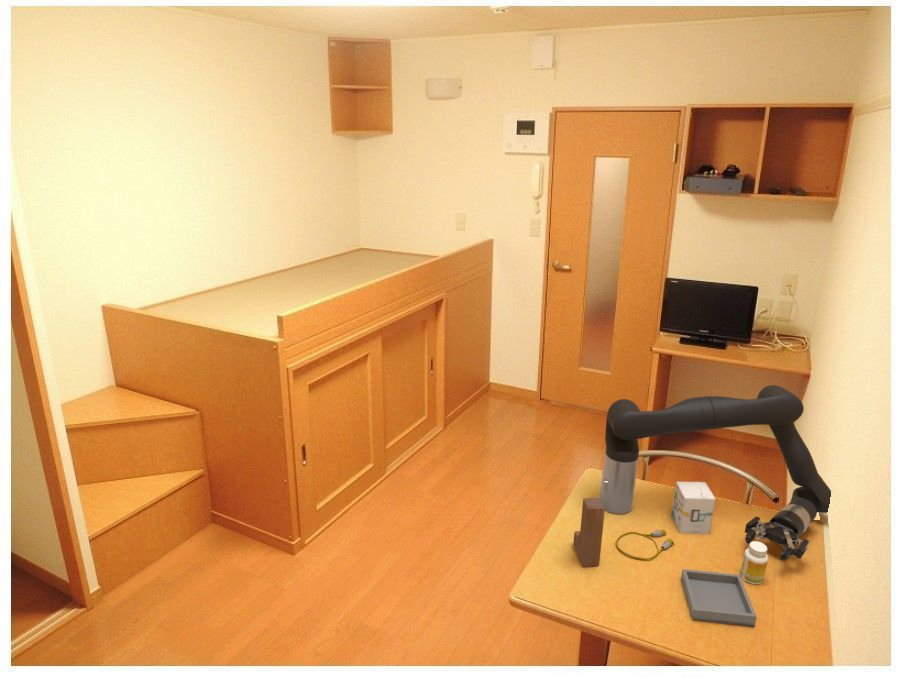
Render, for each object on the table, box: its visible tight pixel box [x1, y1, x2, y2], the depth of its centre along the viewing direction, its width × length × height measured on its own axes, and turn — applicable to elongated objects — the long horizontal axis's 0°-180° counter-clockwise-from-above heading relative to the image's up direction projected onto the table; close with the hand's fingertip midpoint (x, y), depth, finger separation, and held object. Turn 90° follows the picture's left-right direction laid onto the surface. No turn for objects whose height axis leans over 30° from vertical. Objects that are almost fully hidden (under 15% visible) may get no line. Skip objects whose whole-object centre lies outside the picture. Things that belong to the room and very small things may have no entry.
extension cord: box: [615, 529, 675, 562], centre depth 165 cm, size 12×16×2 cm
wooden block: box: [573, 497, 606, 568], centre depth 159 cm, size 9×4×18 cm, turn 6°
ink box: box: [671, 480, 716, 535], centre depth 173 cm, size 9×8×12 cm
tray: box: [680, 568, 758, 628], centre depth 146 cm, size 14×14×3 cm
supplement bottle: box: [739, 540, 769, 585], centre depth 153 cm, size 5×5×10 cm
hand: (764, 548), depth 156 cm, fingers open, 8 cm apart
